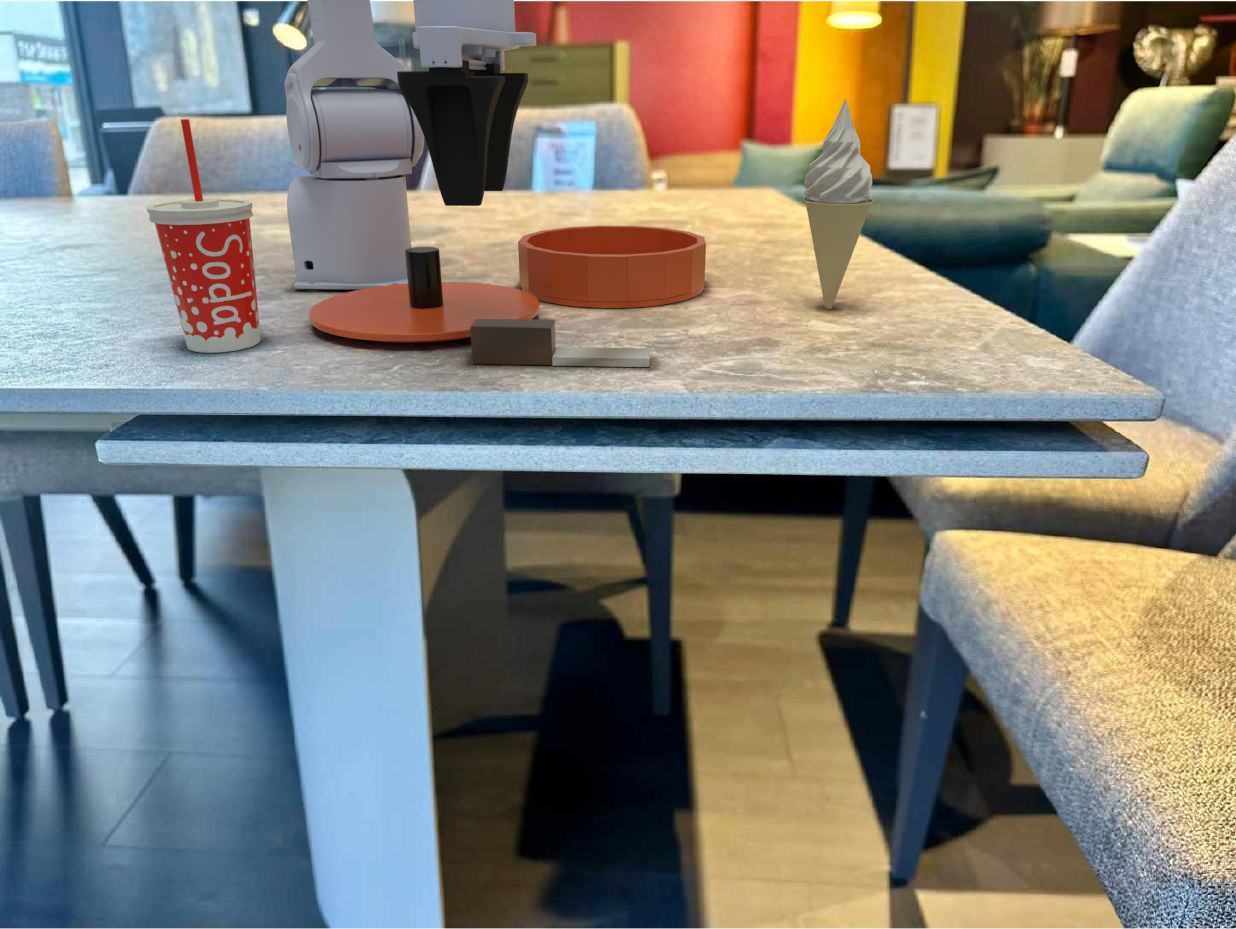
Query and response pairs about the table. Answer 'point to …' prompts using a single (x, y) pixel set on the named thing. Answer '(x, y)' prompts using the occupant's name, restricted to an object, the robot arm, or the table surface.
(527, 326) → the knife
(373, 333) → the pan lid
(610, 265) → the pan
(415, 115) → the robot arm
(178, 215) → the beverage cup
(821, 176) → the ice cream cone
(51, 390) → the table surface
